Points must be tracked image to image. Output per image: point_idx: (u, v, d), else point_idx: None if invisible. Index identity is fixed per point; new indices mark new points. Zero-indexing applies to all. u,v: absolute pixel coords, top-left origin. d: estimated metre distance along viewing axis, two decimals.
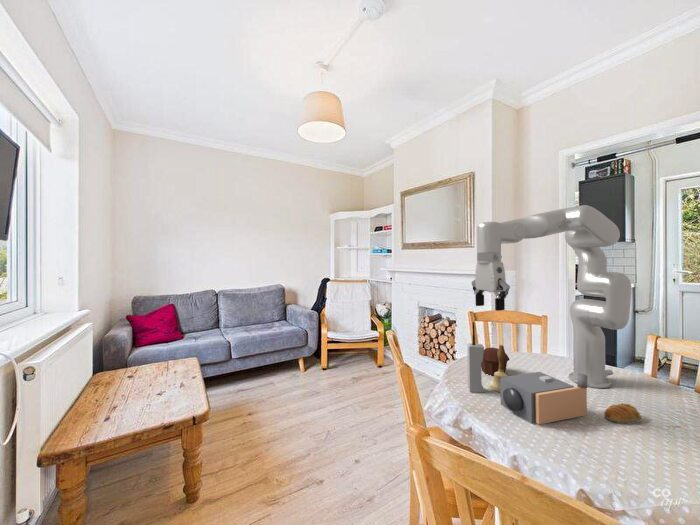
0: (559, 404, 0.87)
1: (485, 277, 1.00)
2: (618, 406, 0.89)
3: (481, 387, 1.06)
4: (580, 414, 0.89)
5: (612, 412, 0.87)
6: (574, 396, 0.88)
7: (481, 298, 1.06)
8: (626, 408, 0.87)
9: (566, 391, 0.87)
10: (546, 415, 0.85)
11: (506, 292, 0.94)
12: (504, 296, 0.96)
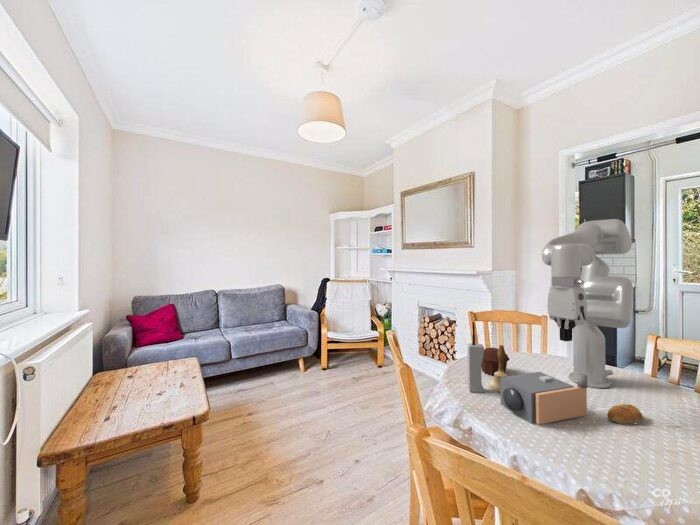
0: (559, 404, 0.87)
1: (563, 304, 0.92)
2: (621, 407, 0.88)
3: (481, 387, 1.06)
4: (580, 414, 0.89)
5: (615, 413, 0.87)
6: (574, 396, 0.88)
7: None
8: (629, 409, 0.87)
9: (566, 391, 0.87)
10: (546, 415, 0.85)
11: None
12: (573, 327, 0.92)
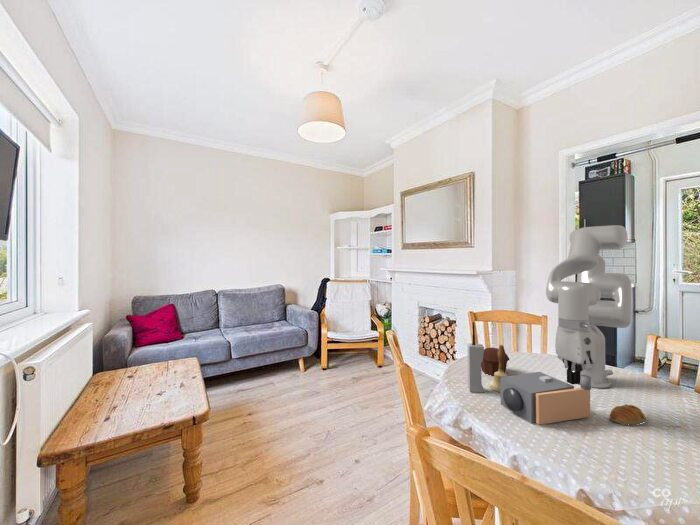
0: (561, 405, 0.86)
1: (569, 346, 0.90)
2: (623, 407, 0.88)
3: (481, 387, 1.06)
4: (583, 416, 0.88)
5: (618, 414, 0.86)
6: (576, 397, 0.87)
7: None
8: (631, 409, 0.86)
9: (568, 392, 0.87)
10: (546, 415, 0.85)
11: None
12: (580, 370, 0.90)
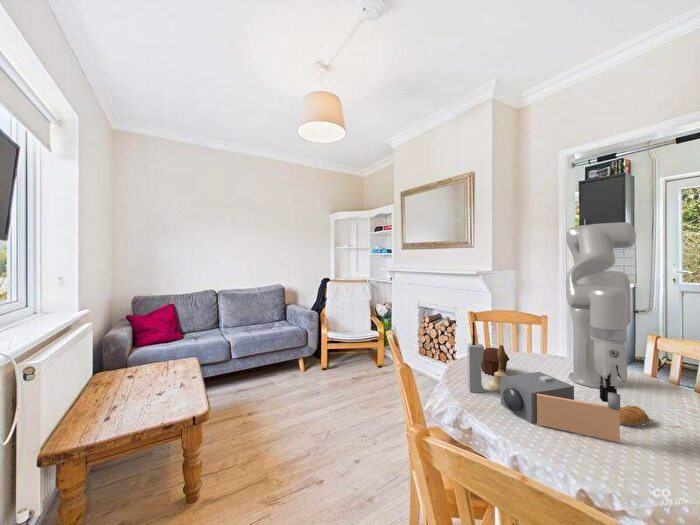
0: (570, 415, 0.81)
1: (597, 357, 0.80)
2: (626, 409, 0.87)
3: (481, 387, 1.06)
4: (607, 437, 0.77)
5: (622, 415, 0.85)
6: (596, 413, 0.78)
7: None
8: (635, 410, 0.86)
9: (581, 404, 0.80)
10: (549, 418, 0.83)
11: None
12: (612, 387, 0.78)
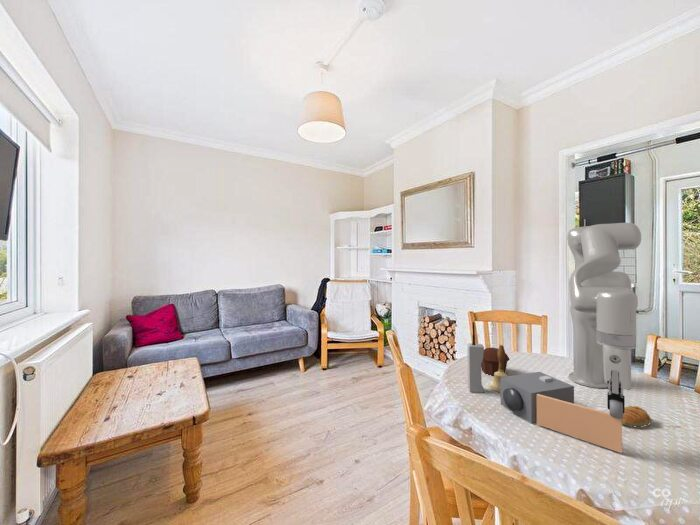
0: (569, 418, 0.79)
1: None
2: (628, 409, 0.87)
3: (481, 387, 1.06)
4: (608, 446, 0.74)
5: (624, 416, 0.85)
6: (596, 420, 0.75)
7: None
8: (637, 411, 0.86)
9: (581, 408, 0.77)
10: (548, 420, 0.83)
11: None
12: (617, 395, 0.74)
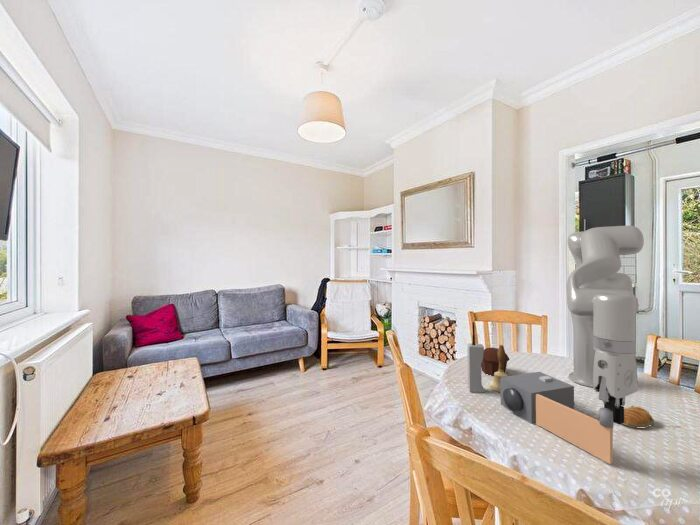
0: (563, 421, 0.78)
1: None
2: (631, 410, 0.86)
3: (481, 387, 1.06)
4: (598, 455, 0.71)
5: (627, 417, 0.84)
6: (587, 426, 0.73)
7: None
8: (639, 412, 0.85)
9: (573, 412, 0.75)
10: (545, 420, 0.82)
11: None
12: (610, 404, 0.70)
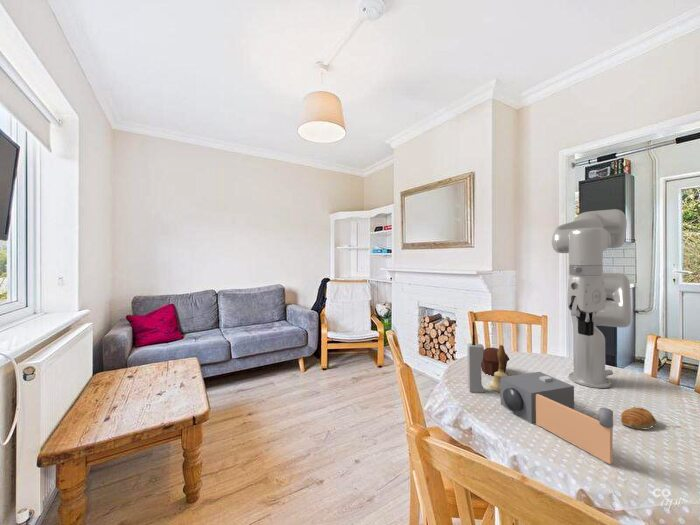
0: (563, 421, 0.78)
1: None
2: (633, 411, 0.86)
3: (481, 387, 1.06)
4: (598, 455, 0.71)
5: (630, 418, 0.84)
6: (587, 426, 0.73)
7: None
8: (642, 412, 0.85)
9: (573, 412, 0.75)
10: (545, 420, 0.82)
11: None
12: (582, 319, 0.84)
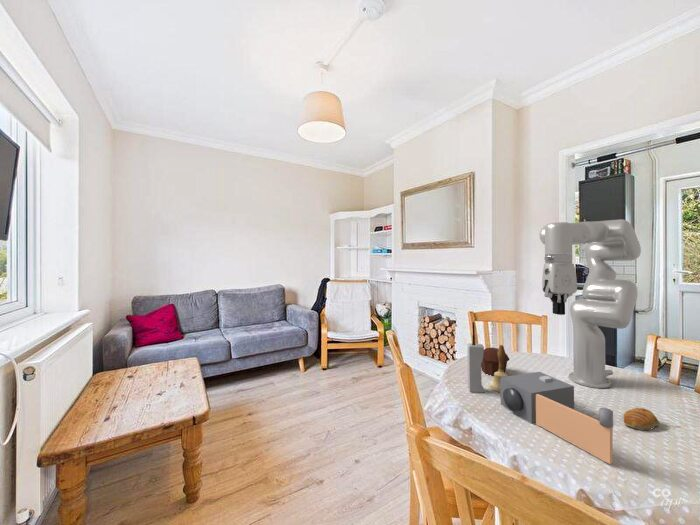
0: (563, 421, 0.78)
1: None
2: (636, 411, 0.85)
3: (481, 387, 1.06)
4: (598, 455, 0.71)
5: (633, 419, 0.83)
6: (587, 426, 0.73)
7: None
8: (644, 413, 0.84)
9: (573, 412, 0.75)
10: (545, 420, 0.82)
11: None
12: (554, 300, 0.99)
